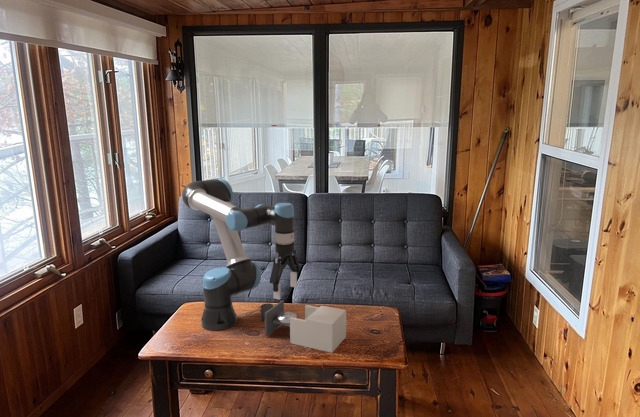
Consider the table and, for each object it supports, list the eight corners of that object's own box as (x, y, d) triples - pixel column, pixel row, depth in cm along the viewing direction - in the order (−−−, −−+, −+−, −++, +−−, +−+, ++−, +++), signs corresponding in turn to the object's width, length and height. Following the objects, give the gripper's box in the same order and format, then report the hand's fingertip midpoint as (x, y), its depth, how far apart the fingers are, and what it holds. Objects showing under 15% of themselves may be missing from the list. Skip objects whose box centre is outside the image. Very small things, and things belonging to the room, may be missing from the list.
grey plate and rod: (264, 335, 178) (263, 312, 176) (281, 321, 190) (281, 300, 188) (303, 344, 170) (303, 320, 168) (318, 329, 183) (318, 307, 181)
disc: (273, 322, 178) (273, 317, 178) (283, 314, 186) (283, 310, 185) (290, 326, 175) (290, 321, 175) (299, 318, 182) (299, 313, 182)
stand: (258, 320, 193) (258, 307, 192) (265, 315, 198) (265, 302, 197) (269, 322, 191) (269, 309, 190) (276, 317, 196) (275, 304, 195)
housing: (290, 343, 173) (289, 315, 171) (306, 328, 185) (306, 302, 183) (332, 352, 165) (332, 324, 163) (346, 336, 178) (346, 310, 175)
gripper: (276, 251, 161) (277, 305, 166) (307, 235, 183) (307, 283, 188) (259, 249, 165) (261, 302, 169) (291, 233, 187) (292, 281, 191)
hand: (285, 292), depth 178 cm, fingers open, 13 cm apart
